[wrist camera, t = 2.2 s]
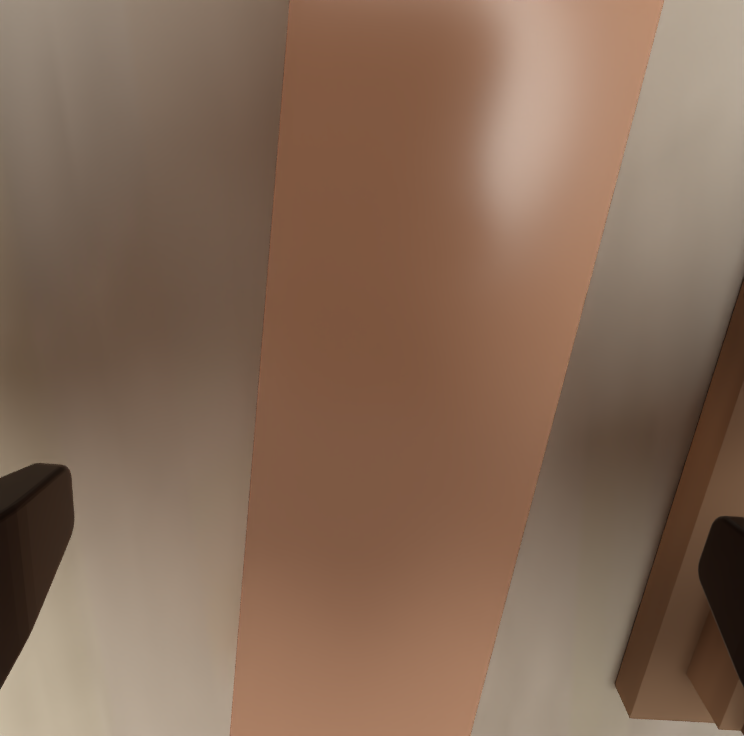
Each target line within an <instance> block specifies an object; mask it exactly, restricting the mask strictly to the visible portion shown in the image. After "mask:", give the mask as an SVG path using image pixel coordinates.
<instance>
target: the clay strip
mask: <svg viewBox="0 0 744 736" xmlns="http://www.w3.org/2000/svg"><path fill="white" fill-rule="evenodd" d="M663 3H664V0H290V1H289V13H288V26H287V38H286V50H285V63H284V75H283V87H282V100H281V112H280V124H279V136H278V149H277V161H276V173H275V186H274V198H273V210H272V223H271V235H270V247H269V260H268V272H267V284H266V296H265V309H264V321H263V333H262V346H261V358H260V370H259V383H258V395H257V407H256V420H255V432H254V444H253V456H252V469H251V481H250V493H249V506H248V518H247V530H246V543H245V555H244V567H243V580H242V592H241V604H240V616H239V629H238V641H237V653H236V666H235V678H234V690H233V703H232V715H231V727H230V736H470V734H471V730H472V727H473V723H474V719H475V715H476V712H477V708H478V704H479V700H480V696H481V693H482V689H483V685H484V681H485V677H486V674H487V670H488V666H489V662H490V658H491V655H492V651H493V647H494V643H495V640H496V636H497V632H498V628H499V624H500V621H501V617H502V613H503V609H504V605H505V602H506V598H507V594H508V590H509V587H510V583H511V579H512V575H513V571H514V568H515V564H516V560H517V556H518V552H519V549H520V545H521V541H522V537H523V533H524V530H525V526H526V522H527V518H528V515H529V511H530V507H531V503H532V499H533V496H534V492H535V488H536V484H537V480H538V477H539V473H540V469H541V465H542V461H543V458H544V454H545V450H546V446H547V443H548V439H549V435H550V431H551V427H552V424H553V420H554V416H555V412H556V408H557V405H558V401H559V397H560V393H561V389H562V386H563V382H564V378H565V374H566V371H567V367H568V363H569V359H570V355H571V352H572V348H573V344H574V340H575V336H576V333H577V329H578V325H579V321H580V317H581V314H582V310H583V306H584V302H585V299H586V295H587V291H588V287H589V283H590V280H591V276H592V272H593V268H594V264H595V261H596V257H597V253H598V249H599V245H600V242H601V238H602V234H603V230H604V227H605V223H606V219H607V215H608V211H609V208H610V204H611V200H612V196H613V192H614V189H615V185H616V181H617V177H618V173H619V170H620V166H621V162H622V158H623V155H624V151H625V147H626V143H627V139H628V136H629V132H630V128H631V124H632V120H633V117H634V113H635V109H636V105H637V102H638V98H639V94H640V90H641V86H642V83H643V79H644V75H645V71H646V67H647V64H648V60H649V56H650V52H651V48H652V45H653V41H654V37H655V33H656V30H657V26H658V22H659V18H660V14H661V11H662V7H663Z"/></svg>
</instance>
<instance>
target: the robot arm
mask: <svg viewBox="0 0 744 736" xmlns="http://www.w3.org/2000/svg"><path fill="white" fill-rule="evenodd" d="M73 527H74V506H73V491H72V478H71V473H70V470H69V469H68V467H66V466H64V465H58V464H45V463H36V464H33V465H30V466H28V467H25V468H23V469H20V470H18V471H16V472H13V473H11V474H8V475H6V476H4V477H1V478H0V689H1V687H2V685H3V684H4V682H5V680H6V678H7V676H8V675H9V673H10V671H11V669H12V667H13V665H14V664H15V662H16V660H17V658H18V656H19V655H20V653H21V651H22V649H23V647H24V645H25V643H26V641H27V639H28V638H29V636H30V633H31V631H32V629H33V627H34V624H35V622H36V620H37V618H38V615H39V613H40V610H41V608H42V606H43V603H44V601H45V598H46V596H47V593H48V591H49V589H50V586H51V584H52V581H53V579H54V577H55V574H56V572H57V569H58V567H59V564H60V562H61V560H62V557H63V555H64V552H65V550H66V547H67V545H68V543H69V540H70V538H71V535H72V531H73ZM698 576H699V580H700V583H701V586H702V588H703V591H704V593H705V596H706V598H707V601H708V603H709V606H710V608H711V611H712V613H713V616H714V619H715V621H716V624H717V626H718V629H719V631H720V634H721V636H722V639H723V641H724V644H725V646H726V649H727V651H728V654H729V656H730V659H731V661H732V664H733V666H734V668H735V670H736V673H737V675H738V677H739V680H740V682H741V684H742V686H743V688H744V517H736V516H720V517H718V518H716V519H715V520H714V521H713V523H712V525H711V528H710V531H709V534H708V536H707V539H706V542H705V545H704V548H703V551H702V554H701V557H700V560H699V564H698Z"/></svg>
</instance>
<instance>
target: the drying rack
mask: <svg viewBox="0 0 744 736" xmlns="http://www.w3.org/2000/svg"><path fill="white" fill-rule="evenodd" d="M720 516H736V517H744V280H743V283H742V286H741V290H740V293H739V296H738V299H737V302H736V305H735V308H734V312H733V315H732V318H731V321H730V324H729V327H728V330H727V334H726V337H725V340H724V343H723V346H722V349H721V353H720V356H719V359H718V362H717V365H716V368H715V371H714V375H713V378H712V381H711V384H710V387H709V390H708V393H707V397H706V400H705V403H704V406H703V409H702V412H701V415H700V419H699V422H698V425H697V428H696V431H695V434H694V438H693V441H692V444H691V447H690V450H689V453H688V456H687V460H686V463H685V466H684V469H683V472H682V475H681V478H680V482H679V485H678V488H677V491H676V494H675V497H674V500H673V504H672V507H671V510H670V513H669V516H668V519H667V523H666V526H665V529H664V532H663V535H662V538H661V541H660V545H659V548H658V551H657V554H656V557H655V560H654V563H653V567H652V570H651V573H650V576H649V579H648V582H647V585H646V589H645V592H644V595H643V598H642V601H641V604H640V608H639V611H638V614H637V617H636V620H635V623H634V626H633V630H632V633H631V636H630V639H629V642H628V645H627V648H626V652H625V655H624V658H623V661H622V664H621V667H620V670H619V674H618V677H617V680H616V683H615V686H616V689H617V691H618V693H619V695H620V697H621V700H622V702H623V704H624V706H625V708H626V711H627V713H628V715H629V717H630V718H636V719H654V720H672V721H690V722H708V723H715V724H716V726H717V727H718V729H721V730H739V731H741V732H742V733H743V735H744V688H743V686H742V684H741V682H740V680H739V677H738V675H737V673H736V670H735V668H734V666H733V664H732V661H731V659H730V656H729V654H728V651H727V649H726V646H725V644H724V641H723V639H722V636H721V634H720V631H719V629H718V626H717V624H716V621H715V619H714V616H713V613H712V611H711V608H710V606H709V603H708V601H707V598H706V596H705V593H704V591H703V588H702V586H701V583H700V580H699V576H698V564H699V560H700V557H701V554H702V551H703V548H704V545H705V542H706V539H707V536H708V534H709V531H710V528H711V525H712V523H713V521H714V520H715V519H716V518H718V517H720Z"/></svg>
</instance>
